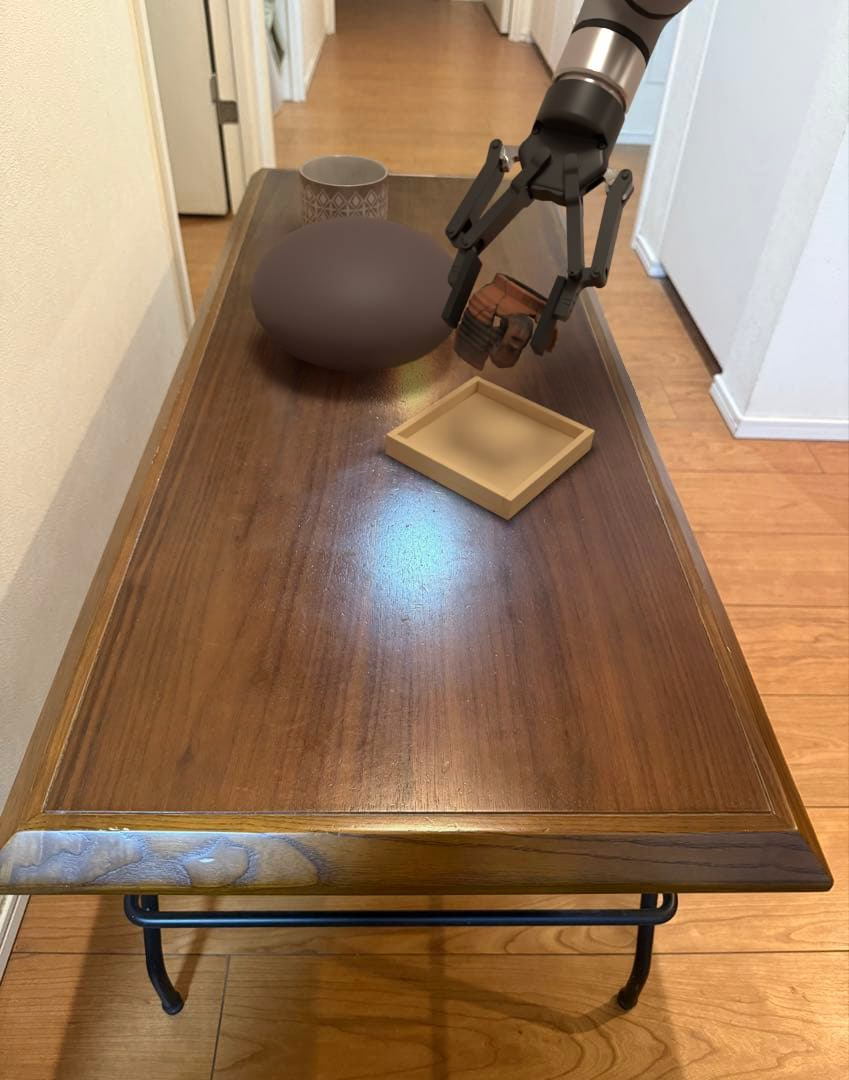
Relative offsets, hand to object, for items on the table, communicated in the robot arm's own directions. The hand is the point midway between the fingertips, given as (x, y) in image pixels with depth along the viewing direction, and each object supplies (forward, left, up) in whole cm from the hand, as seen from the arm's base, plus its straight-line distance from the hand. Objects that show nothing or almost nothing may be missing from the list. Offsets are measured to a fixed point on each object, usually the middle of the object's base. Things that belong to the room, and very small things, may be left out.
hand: (491, 336), depth 75 cm
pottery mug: (0, -3, -4) cm, 5 cm away
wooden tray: (+1, -3, -15) cm, 16 cm away
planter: (+48, -31, -16) cm, 59 cm away
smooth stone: (+25, -9, -16) cm, 31 cm away
